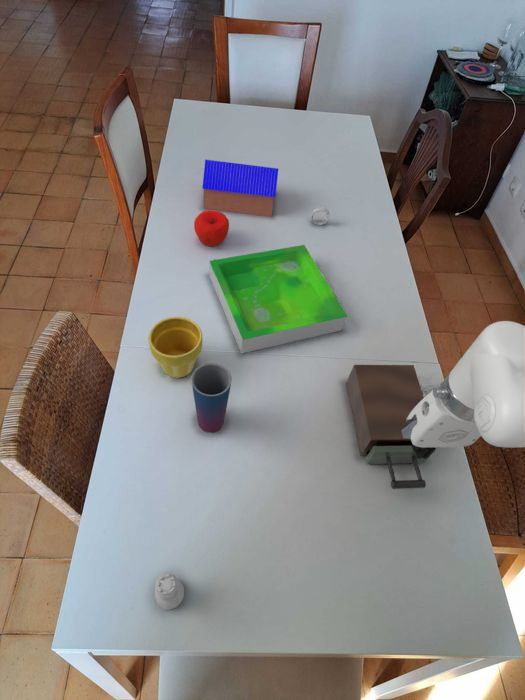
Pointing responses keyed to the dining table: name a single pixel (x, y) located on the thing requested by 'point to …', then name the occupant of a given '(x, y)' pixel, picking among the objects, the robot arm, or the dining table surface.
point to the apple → (211, 227)
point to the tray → (275, 298)
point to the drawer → (396, 460)
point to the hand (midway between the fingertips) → (419, 450)
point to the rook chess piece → (168, 591)
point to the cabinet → (382, 402)
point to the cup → (211, 395)
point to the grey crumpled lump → (318, 211)
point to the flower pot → (176, 345)
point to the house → (239, 187)
